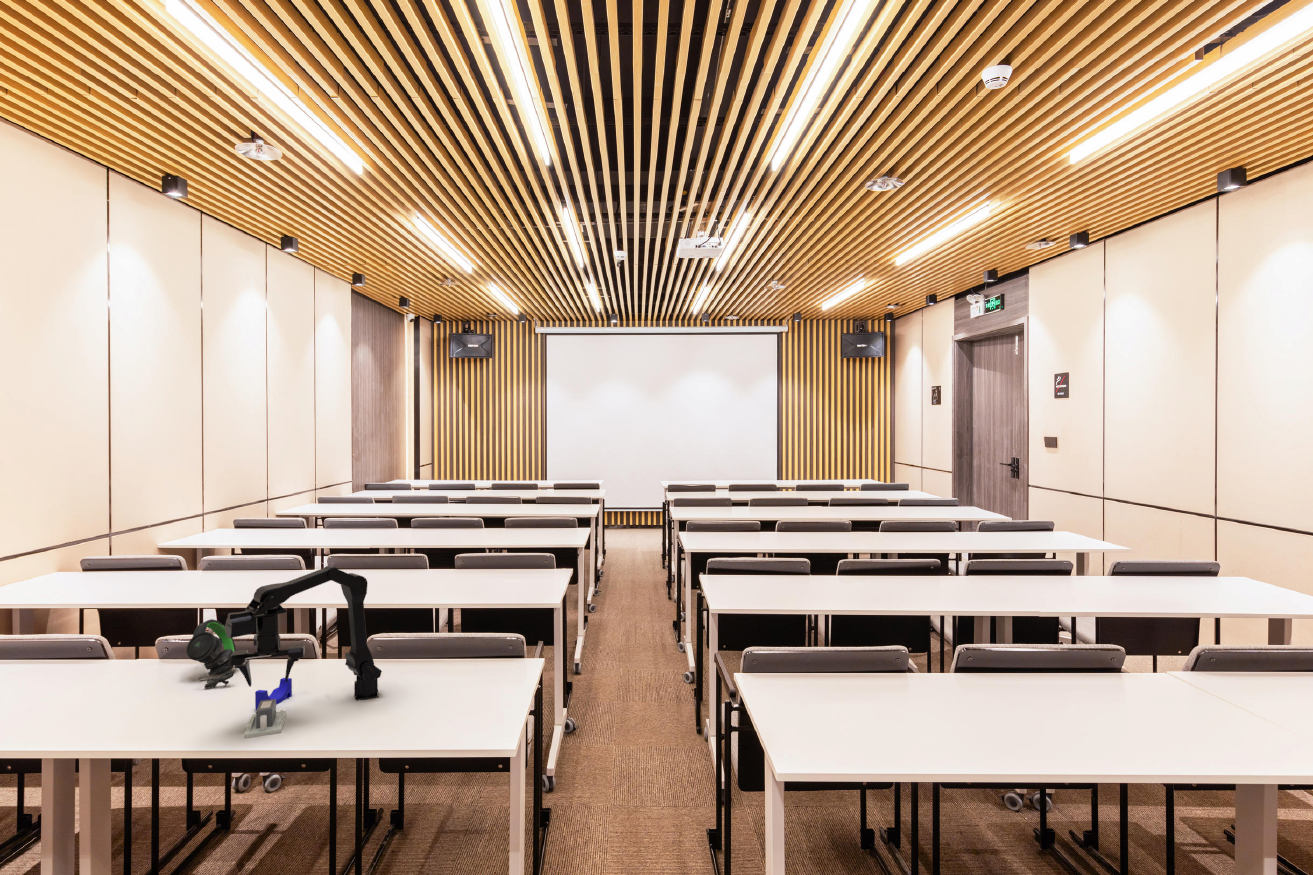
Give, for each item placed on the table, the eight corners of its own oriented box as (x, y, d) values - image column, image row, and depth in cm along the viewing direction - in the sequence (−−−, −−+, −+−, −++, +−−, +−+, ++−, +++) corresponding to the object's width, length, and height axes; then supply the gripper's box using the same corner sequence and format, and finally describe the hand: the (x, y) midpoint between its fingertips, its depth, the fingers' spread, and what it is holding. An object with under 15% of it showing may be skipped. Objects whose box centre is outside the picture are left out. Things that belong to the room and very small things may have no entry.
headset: (209, 709, 232) (222, 647, 256) (249, 690, 234) (258, 630, 258) (173, 679, 222) (190, 617, 245) (215, 659, 224) (227, 599, 247)
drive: (276, 715, 205) (275, 698, 205) (272, 726, 197) (272, 708, 197) (260, 717, 203) (260, 700, 203) (256, 728, 196) (256, 710, 196)
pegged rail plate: (286, 713, 208) (286, 697, 208) (281, 732, 195) (281, 714, 195) (252, 718, 205) (251, 701, 205) (244, 738, 192) (244, 720, 192)
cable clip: (279, 695, 223) (279, 677, 223) (291, 696, 222) (291, 678, 222) (251, 710, 211) (250, 691, 211) (264, 711, 210) (263, 692, 210)
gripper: (305, 619, 212) (306, 670, 212) (235, 626, 204) (236, 679, 205) (303, 629, 202) (303, 682, 202) (228, 637, 194) (229, 692, 194)
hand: (268, 683), depth 201 cm, fingers open, 9 cm apart
